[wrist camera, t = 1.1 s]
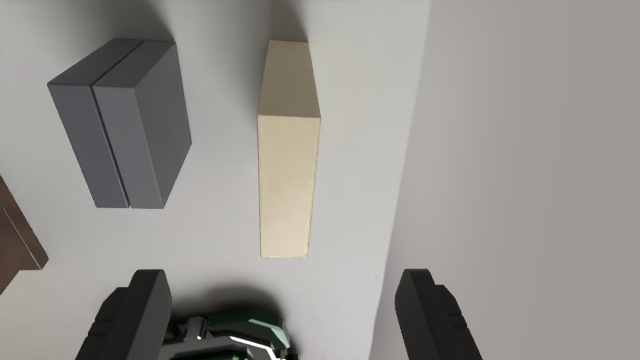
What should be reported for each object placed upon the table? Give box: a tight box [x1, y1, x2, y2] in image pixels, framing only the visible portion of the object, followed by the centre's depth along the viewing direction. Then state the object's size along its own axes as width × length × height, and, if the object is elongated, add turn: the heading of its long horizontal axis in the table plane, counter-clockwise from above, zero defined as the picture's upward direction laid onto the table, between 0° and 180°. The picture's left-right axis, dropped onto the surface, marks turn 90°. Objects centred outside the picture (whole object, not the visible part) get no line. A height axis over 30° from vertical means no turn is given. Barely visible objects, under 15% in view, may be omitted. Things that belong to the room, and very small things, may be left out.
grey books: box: [47, 38, 192, 209], centre depth 19 cm, size 7×4×7 cm, turn 175°
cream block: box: [257, 40, 321, 257], centre depth 19 cm, size 8×2×10 cm, turn 175°
